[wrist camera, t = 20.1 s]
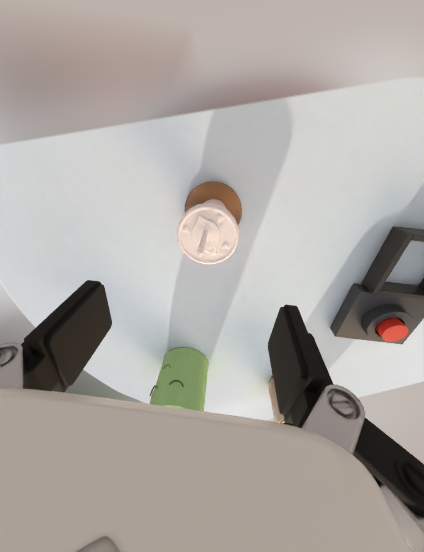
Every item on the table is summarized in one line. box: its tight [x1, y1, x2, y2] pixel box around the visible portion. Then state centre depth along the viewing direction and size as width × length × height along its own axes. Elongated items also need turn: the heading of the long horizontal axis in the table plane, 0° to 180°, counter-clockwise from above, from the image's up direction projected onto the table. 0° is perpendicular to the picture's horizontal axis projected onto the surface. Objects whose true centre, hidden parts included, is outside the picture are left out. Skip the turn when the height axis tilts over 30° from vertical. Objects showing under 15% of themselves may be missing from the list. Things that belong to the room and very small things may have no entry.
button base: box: [330, 284, 424, 344], centre depth 35 cm, size 10×12×4 cm
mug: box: [150, 347, 208, 412], centre depth 43 cm, size 13×10×12 cm
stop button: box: [376, 317, 409, 342], centre depth 33 cm, size 4×4×2 cm
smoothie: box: [177, 199, 239, 264], centre depth 24 cm, size 6×6×14 cm
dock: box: [362, 227, 424, 300], centre depth 31 cm, size 10×10×3 cm
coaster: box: [185, 182, 241, 225], centre depth 30 cm, size 8×8×1 cm
